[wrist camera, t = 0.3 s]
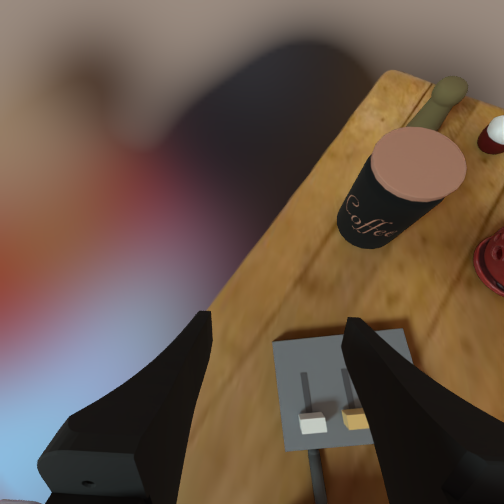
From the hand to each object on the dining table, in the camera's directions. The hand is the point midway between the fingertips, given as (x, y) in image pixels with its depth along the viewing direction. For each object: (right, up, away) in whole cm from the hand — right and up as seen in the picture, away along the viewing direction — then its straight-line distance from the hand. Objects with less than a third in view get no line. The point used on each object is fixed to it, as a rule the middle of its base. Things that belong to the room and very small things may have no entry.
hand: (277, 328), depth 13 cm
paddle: (+7, -19, +20) cm, 29 cm away
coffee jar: (+20, +9, +33) cm, 40 cm away
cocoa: (+47, +26, +37) cm, 65 cm away
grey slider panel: (+13, -16, +25) cm, 32 cm away
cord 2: (+8, -27, +21) cm, 36 cm away
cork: (+35, +30, +39) cm, 60 cm away
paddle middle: (+13, -18, +20) cm, 30 cm away
